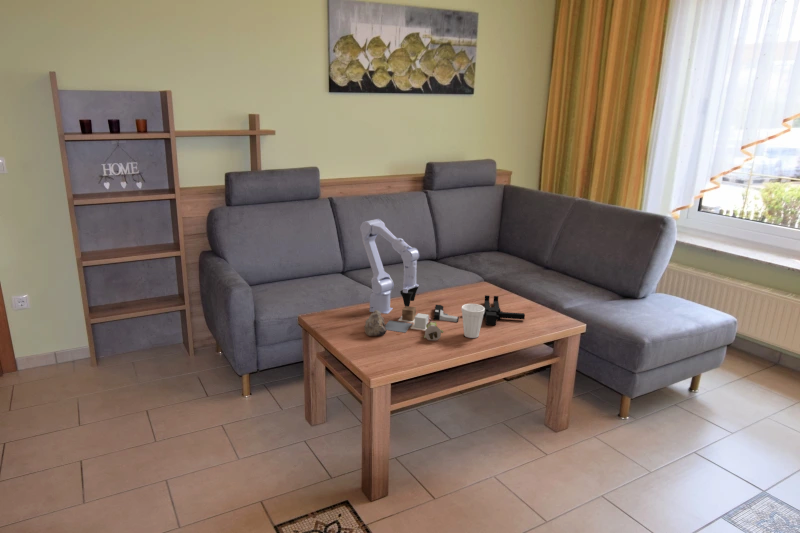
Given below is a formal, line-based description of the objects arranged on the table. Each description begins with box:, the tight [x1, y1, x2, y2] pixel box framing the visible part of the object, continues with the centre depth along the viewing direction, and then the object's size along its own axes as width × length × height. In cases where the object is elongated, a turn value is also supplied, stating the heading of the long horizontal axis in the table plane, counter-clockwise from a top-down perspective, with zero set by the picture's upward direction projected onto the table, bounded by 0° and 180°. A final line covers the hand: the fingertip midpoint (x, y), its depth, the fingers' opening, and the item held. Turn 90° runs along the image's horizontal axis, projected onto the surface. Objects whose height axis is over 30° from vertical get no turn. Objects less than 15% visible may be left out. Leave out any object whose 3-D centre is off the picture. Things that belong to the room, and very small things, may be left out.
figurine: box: [423, 316, 444, 341], centre depth 241 cm, size 9×7×15 cm
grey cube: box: [414, 312, 430, 329], centre depth 250 cm, size 5×5×5 cm
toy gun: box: [432, 304, 460, 323], centre depth 265 cm, size 3×16×12 cm
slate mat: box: [385, 320, 413, 334], centre depth 250 cm, size 11×11×1 cm
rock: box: [364, 310, 387, 337], centre depth 241 cm, size 9×12×10 cm
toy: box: [483, 294, 526, 326], centre depth 268 cm, size 28×6×30 cm
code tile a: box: [397, 315, 415, 324], centre depth 260 cm, size 8×8×1 cm
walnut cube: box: [401, 305, 417, 321], centre depth 259 cm, size 5×5×5 cm
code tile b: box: [410, 323, 427, 331], centre depth 251 cm, size 8×8×1 cm
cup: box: [461, 303, 485, 339], centre depth 241 cm, size 10×10×13 cm
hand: (409, 303), depth 258 cm, fingers open, 7 cm apart
